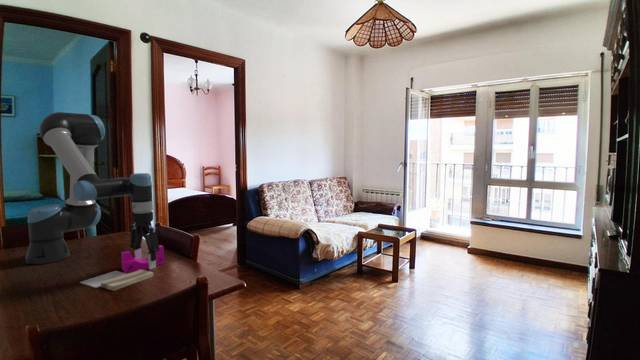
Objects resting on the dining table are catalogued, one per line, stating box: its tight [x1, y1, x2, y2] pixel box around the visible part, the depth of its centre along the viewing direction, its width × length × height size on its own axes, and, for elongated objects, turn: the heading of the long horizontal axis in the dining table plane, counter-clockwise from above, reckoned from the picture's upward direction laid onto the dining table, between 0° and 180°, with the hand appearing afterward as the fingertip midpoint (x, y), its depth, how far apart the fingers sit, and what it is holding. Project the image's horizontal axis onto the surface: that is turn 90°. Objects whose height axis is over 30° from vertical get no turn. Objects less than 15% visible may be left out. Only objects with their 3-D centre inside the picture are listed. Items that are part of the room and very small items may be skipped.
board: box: [100, 269, 154, 291], centre depth 123 cm, size 8×15×2 cm, turn 152°
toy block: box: [120, 244, 165, 274], centre depth 138 cm, size 15×6×8 cm, turn 130°
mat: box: [79, 270, 126, 289], centre depth 126 cm, size 10×13×1 cm
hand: (145, 266), depth 138 cm, fingers open, 8 cm apart
